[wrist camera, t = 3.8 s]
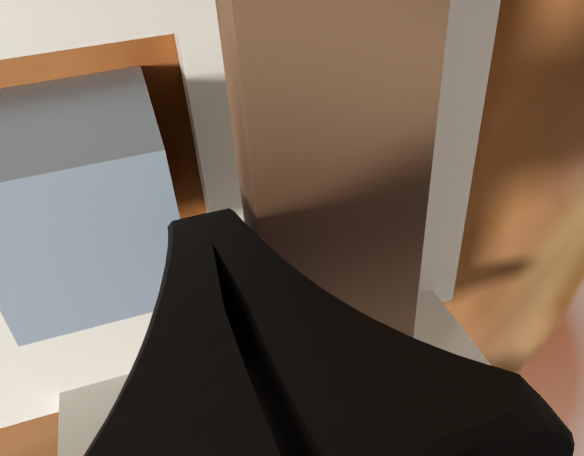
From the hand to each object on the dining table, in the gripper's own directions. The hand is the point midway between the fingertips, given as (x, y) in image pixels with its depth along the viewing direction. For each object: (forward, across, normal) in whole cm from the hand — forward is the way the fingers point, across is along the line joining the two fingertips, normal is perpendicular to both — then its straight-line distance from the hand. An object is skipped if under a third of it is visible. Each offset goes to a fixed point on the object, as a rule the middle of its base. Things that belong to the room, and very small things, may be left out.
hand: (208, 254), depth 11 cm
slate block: (+6, +2, 0) cm, 6 cm away
